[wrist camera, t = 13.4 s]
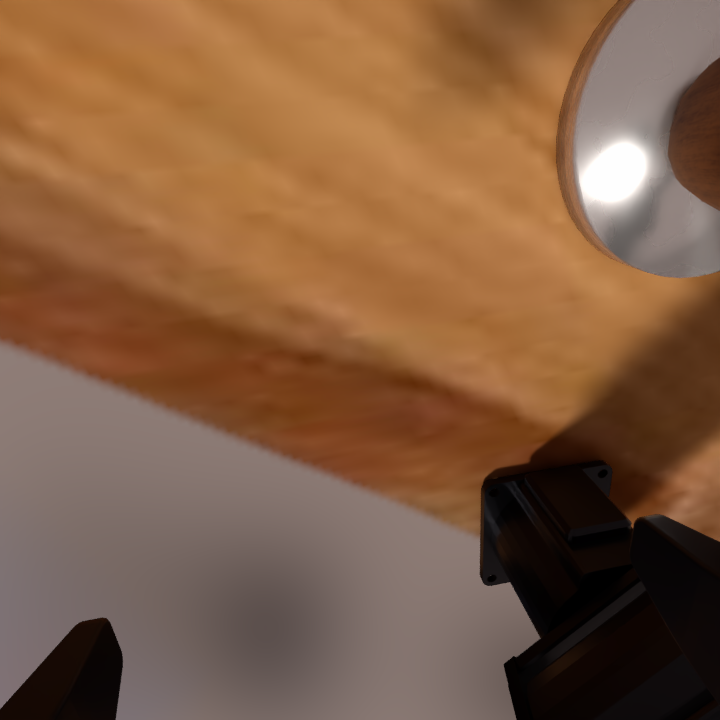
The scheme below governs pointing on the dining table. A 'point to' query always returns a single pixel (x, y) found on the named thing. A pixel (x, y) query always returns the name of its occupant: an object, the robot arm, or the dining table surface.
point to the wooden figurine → (698, 137)
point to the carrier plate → (638, 137)
